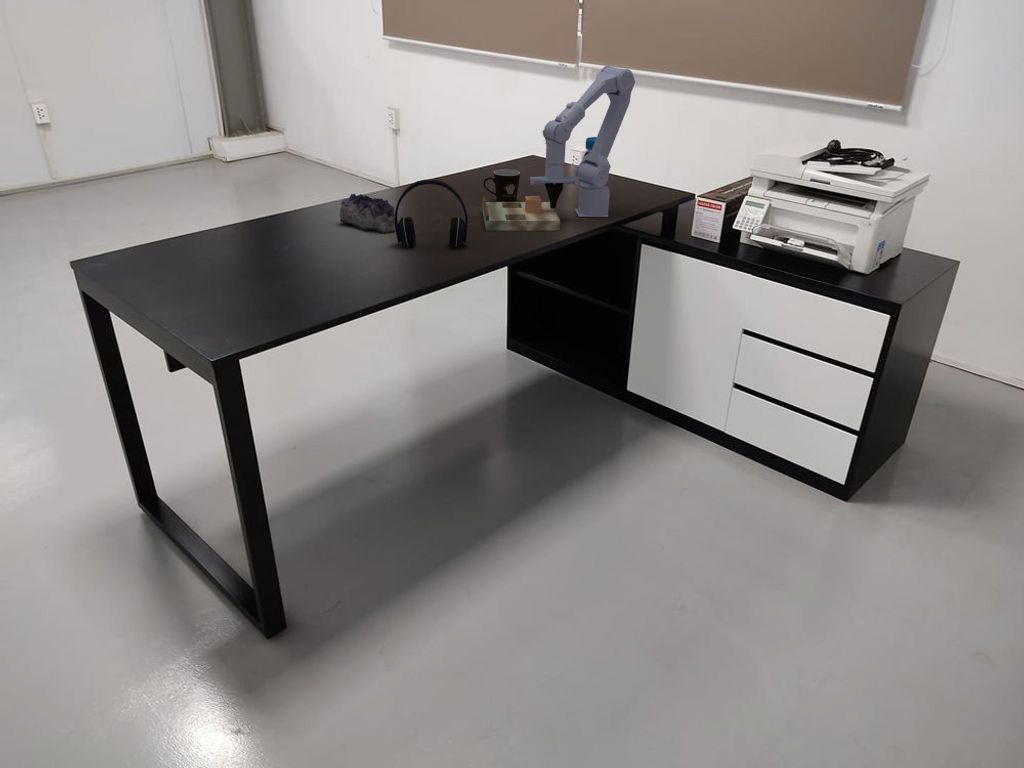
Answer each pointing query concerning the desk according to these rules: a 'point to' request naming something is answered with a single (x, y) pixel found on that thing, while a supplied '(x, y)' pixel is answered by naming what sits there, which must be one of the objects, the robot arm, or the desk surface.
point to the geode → (368, 213)
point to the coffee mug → (505, 185)
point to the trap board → (518, 217)
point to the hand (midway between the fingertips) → (552, 207)
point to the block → (533, 204)
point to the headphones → (406, 226)
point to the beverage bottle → (590, 145)
